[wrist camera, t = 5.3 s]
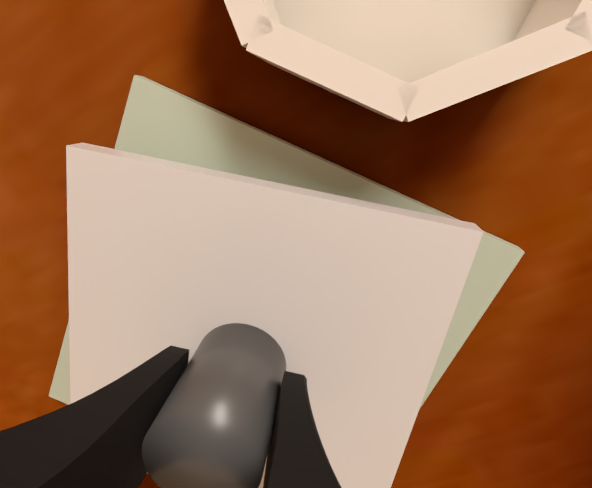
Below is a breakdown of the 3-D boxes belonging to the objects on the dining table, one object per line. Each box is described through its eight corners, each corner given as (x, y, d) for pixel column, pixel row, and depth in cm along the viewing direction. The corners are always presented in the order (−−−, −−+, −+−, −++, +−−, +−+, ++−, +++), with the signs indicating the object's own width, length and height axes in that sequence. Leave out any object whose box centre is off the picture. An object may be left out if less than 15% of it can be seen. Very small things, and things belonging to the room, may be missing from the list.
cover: (475, 223, 12) (550, 299, 8) (374, 509, 16) (384, 666, 12) (82, 142, 13) (-64, 168, 8) (83, 438, 17) (-13, 563, 12)
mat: (517, 246, 14) (525, 251, 14) (343, 510, 19) (342, 522, 18) (142, 76, 14) (134, 74, 13) (57, 387, 18) (48, 396, 18)
